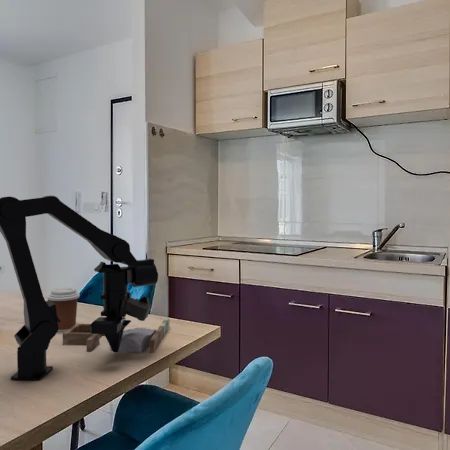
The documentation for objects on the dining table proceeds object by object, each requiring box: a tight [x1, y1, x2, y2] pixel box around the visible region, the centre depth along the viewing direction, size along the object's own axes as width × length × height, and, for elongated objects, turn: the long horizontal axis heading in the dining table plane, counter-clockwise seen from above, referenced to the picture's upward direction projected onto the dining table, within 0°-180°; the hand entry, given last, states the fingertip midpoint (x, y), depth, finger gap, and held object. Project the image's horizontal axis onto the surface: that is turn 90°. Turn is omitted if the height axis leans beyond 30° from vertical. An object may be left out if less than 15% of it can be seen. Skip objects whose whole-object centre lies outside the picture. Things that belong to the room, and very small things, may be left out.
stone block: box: [109, 327, 157, 354], centre depth 110 cm, size 12×5×10 cm
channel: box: [62, 317, 170, 353], centre depth 115 cm, size 22×26×3 cm
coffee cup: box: [47, 287, 81, 333], centre depth 124 cm, size 9×9×12 cm
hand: (116, 351), depth 101 cm, fingers closed
